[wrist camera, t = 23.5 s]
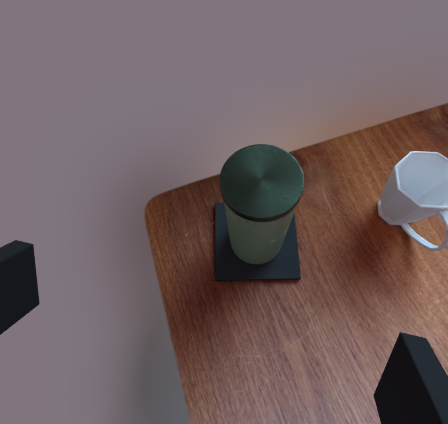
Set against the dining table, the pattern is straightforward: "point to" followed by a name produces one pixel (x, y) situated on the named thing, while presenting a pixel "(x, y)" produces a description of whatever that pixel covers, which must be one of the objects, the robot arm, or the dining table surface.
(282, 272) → the mat
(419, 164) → the cup
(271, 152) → the tin
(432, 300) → the dining table surface
